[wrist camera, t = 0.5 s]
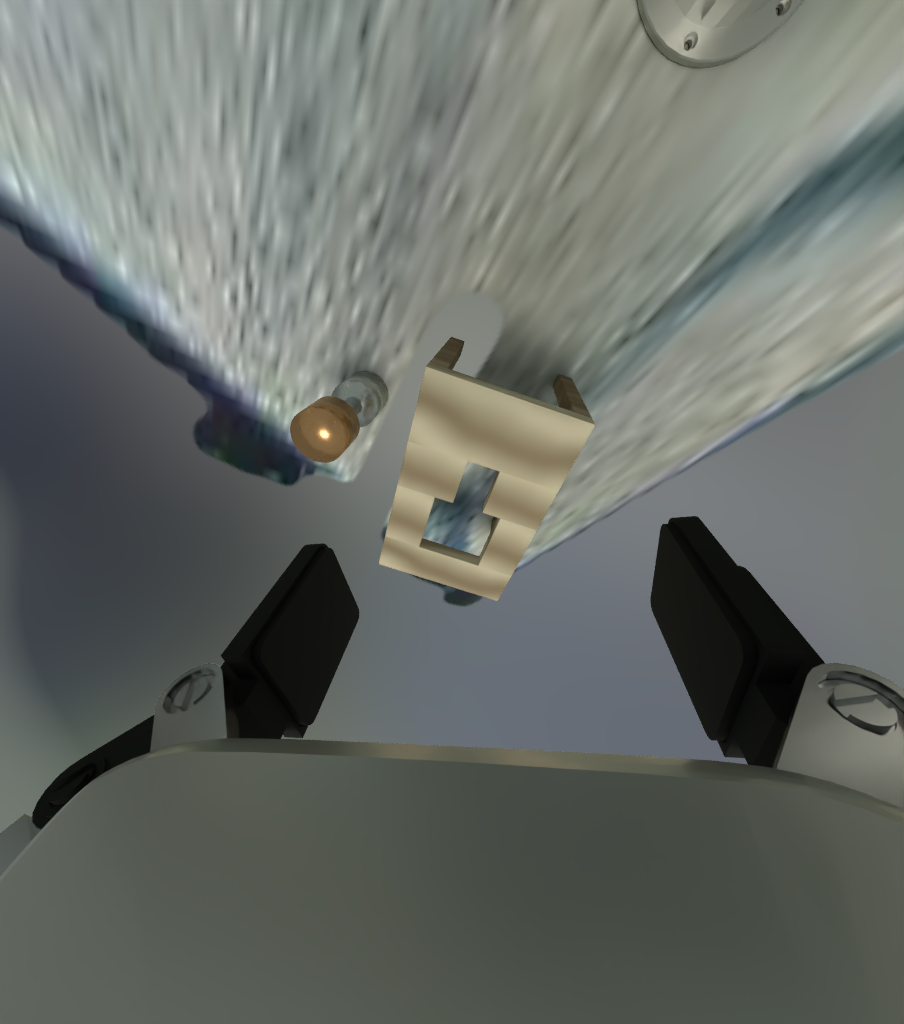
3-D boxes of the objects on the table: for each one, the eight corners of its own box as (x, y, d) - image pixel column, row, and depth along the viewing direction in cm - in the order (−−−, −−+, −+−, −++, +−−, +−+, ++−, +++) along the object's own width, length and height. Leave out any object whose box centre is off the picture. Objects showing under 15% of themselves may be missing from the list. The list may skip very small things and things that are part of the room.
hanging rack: (451, 336, 39) (425, 366, 28) (571, 379, 40) (595, 424, 29) (408, 497, 52) (378, 563, 41) (500, 527, 53) (497, 601, 41)
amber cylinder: (350, 365, 43) (291, 402, 31) (391, 379, 43) (347, 420, 31) (346, 405, 46) (289, 452, 34) (384, 417, 46) (341, 469, 34)
